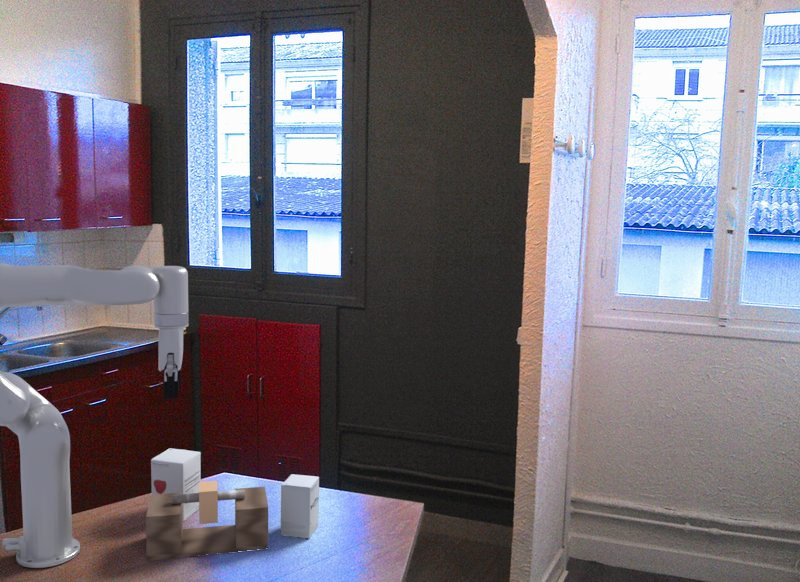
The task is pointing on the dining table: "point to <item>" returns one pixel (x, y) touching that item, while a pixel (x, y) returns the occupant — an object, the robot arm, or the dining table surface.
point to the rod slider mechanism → (177, 542)
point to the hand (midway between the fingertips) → (172, 392)
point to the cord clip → (208, 502)
